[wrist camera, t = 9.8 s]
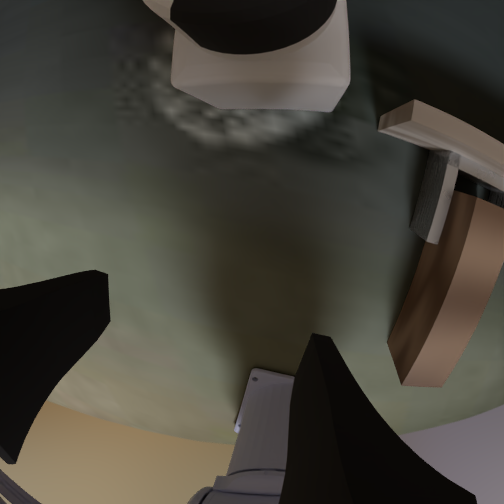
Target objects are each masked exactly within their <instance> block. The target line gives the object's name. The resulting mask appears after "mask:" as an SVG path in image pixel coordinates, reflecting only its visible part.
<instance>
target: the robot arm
mask: <svg viewBox="0 0 504 504" xmlns="http://www.w3.org/2000/svg"><path fill="white" fill-rule="evenodd" d="M110 321H111V320H110V307H109V288H108V274H106V273H103V272H100V271H97V270H89V271H83V272H78V273H74V274H70V275H65V276H61V277H57V278H53V279H49V280H45V281H41V282H36V283H32V284H27V285H23V286H18V287H12V288H6V289H0V457H1V458H2V459H3V460H4V461H5V462H6V463H7V464H16V461H17V459H18V456H19V453H20V450H21V448H22V445H23V443H24V440H25V438H26V436H27V434H28V431H29V429H30V427H31V425H32V423H33V421H34V419H35V418H36V416H37V414H38V412H39V411H40V409H41V407H42V406H43V404H44V402H45V401H46V399H47V398H48V396H49V395H50V393H51V392H52V390H53V389H54V388H55V386H56V385H57V384H58V382H59V381H60V380H61V379H62V377H63V376H64V375H65V374H66V373H67V372H68V371H69V370H70V369H71V368H72V367H73V366H74V365H75V363H76V362H77V361H78V360H79V359H80V358H81V357H82V356H83V355H84V354H85V353H86V352H87V351H88V350H89V349H90V347H91V346H92V345H93V344H94V343H95V342H96V341H97V340H98V338H99V337H100V336H101V334H102V333H103V331H104V330H105V328H106V327H107V325H108V324H109V323H110ZM254 377H256V378H257V379H255V378H254ZM234 431H235V432H236V433H238V437H237V440H236V444H235V447H234V451H233V454H232V458H231V461H230V464H229V468H228V471H227V475H226V476H217V477H216V480H215V483H214V486H213V487H204V488H202V489H201V490H199V491H198V492H197V493H196V494H195V495H194V496H193V497H192V498H191V499H190V500H189V502H188V503H187V504H477V501H476V497H475V495H474V494H472V493H470V492H469V491H467V490H465V489H464V488H462V487H460V486H459V485H457V484H455V483H454V482H452V481H450V480H449V479H447V478H446V477H444V476H443V475H442V474H440V473H439V472H438V471H436V470H435V469H434V468H433V467H431V466H430V465H429V464H427V463H426V462H425V461H424V460H423V459H422V458H420V457H419V456H418V455H417V454H416V453H415V452H414V451H413V450H412V449H411V448H410V447H409V446H408V445H406V444H405V443H404V442H403V441H402V440H401V439H400V437H399V436H398V435H397V434H396V433H395V432H394V431H393V430H392V429H391V428H390V426H389V425H388V424H387V423H386V422H385V420H384V419H383V418H382V417H381V416H380V414H379V413H378V412H377V411H376V409H375V408H374V407H373V405H372V404H371V402H370V401H369V400H368V398H367V397H366V395H365V394H364V392H363V391H362V389H361V388H360V386H359V385H358V383H357V382H356V380H355V379H354V377H353V375H352V374H351V372H350V370H349V369H348V367H347V365H346V363H345V362H344V360H343V358H342V356H341V355H340V353H339V351H338V349H337V347H336V346H335V344H334V342H333V340H332V339H331V337H329V336H324V335H319V334H315V333H312V335H311V337H310V340H309V342H308V345H307V348H306V350H305V353H304V355H303V358H302V360H301V363H300V365H299V368H298V370H297V373H296V375H295V377H294V376H289V375H284V374H280V373H276V372H271V371H267V370H263V369H259V368H254V369H252V371H251V373H250V377H249V381H248V384H247V388H246V391H245V394H244V398H243V401H242V405H241V408H240V411H239V415H238V418H237V422H236V425H235V428H234ZM0 493H1V494H2V495H3V496H4V497H5V498H6V499H7V500H8V501H9V502H11V503H12V504H41V503H40V502H38V501H37V500H36V499H34V498H33V497H32V496H30V495H29V494H28V493H27V492H25V491H24V490H23V489H22V488H21V487H20V486H18V485H17V484H16V483H15V482H14V481H13V480H11V479H10V478H9V477H8V476H7V475H6V474H5V473H4V472H2V470H1V469H0ZM0 504H6V503H5V502H4V500H3V499H2V498H1V497H0Z"/></svg>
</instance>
